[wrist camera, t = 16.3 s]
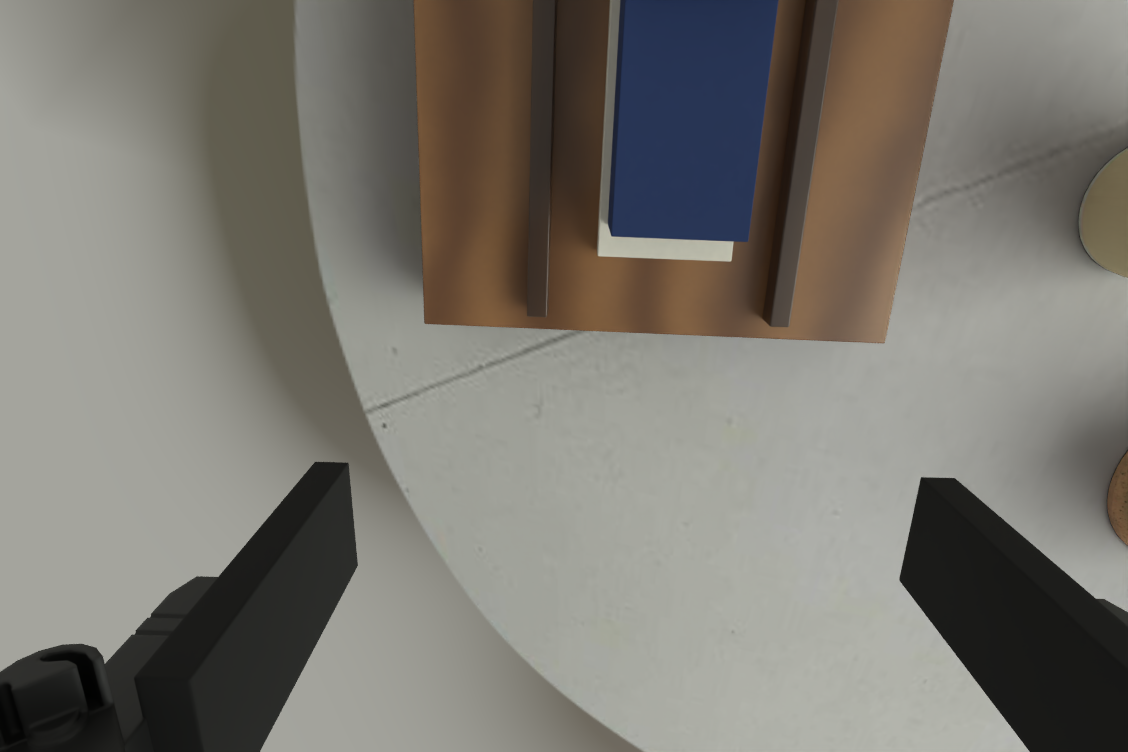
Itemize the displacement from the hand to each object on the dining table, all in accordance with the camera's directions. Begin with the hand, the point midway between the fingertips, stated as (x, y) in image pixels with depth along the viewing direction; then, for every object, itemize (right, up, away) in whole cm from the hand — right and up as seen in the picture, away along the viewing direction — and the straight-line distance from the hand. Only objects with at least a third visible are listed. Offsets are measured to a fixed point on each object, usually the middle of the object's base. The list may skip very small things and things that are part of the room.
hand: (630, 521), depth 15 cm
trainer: (+4, +17, +15) cm, 23 cm away
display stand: (+4, +19, +21) cm, 28 cm away
